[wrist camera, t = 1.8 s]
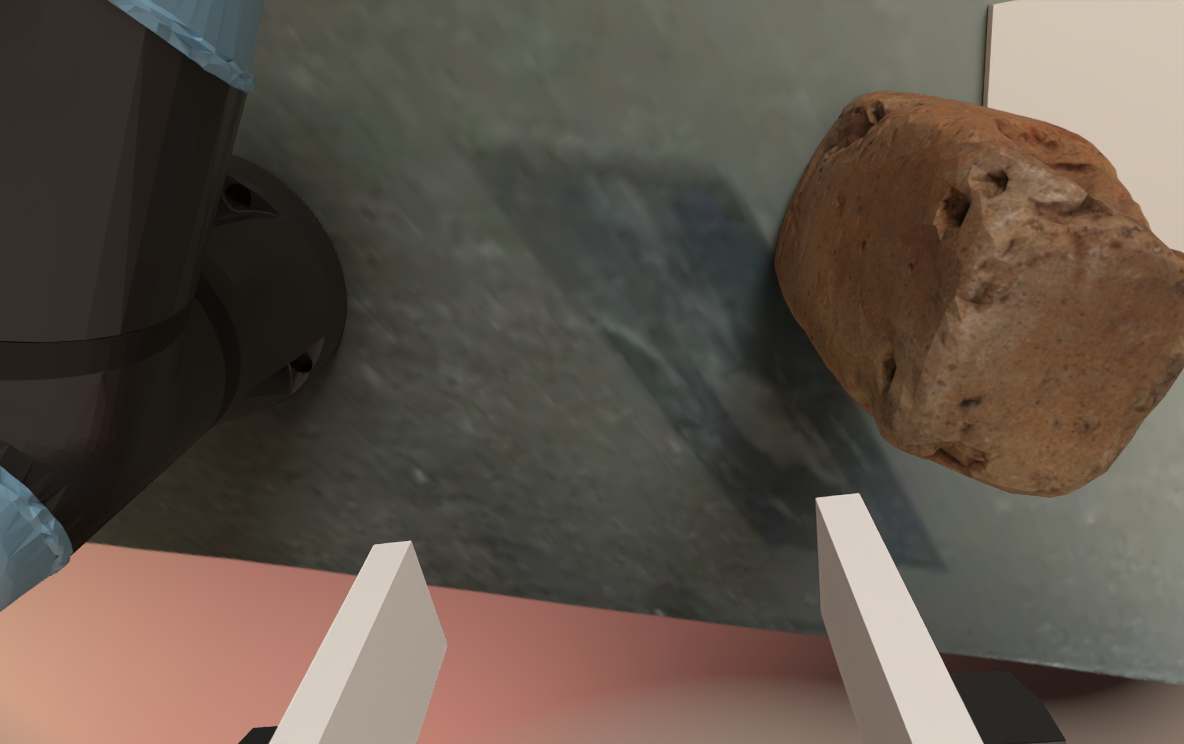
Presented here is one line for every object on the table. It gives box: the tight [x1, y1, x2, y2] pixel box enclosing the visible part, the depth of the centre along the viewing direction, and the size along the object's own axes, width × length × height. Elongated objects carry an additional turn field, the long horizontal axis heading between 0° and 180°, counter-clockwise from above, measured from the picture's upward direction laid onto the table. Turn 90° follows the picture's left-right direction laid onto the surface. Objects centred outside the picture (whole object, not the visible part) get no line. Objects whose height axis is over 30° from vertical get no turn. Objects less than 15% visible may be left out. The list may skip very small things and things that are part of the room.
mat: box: [983, 0, 1184, 253], centre depth 34 cm, size 16×16×1 cm
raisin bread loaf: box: [774, 91, 1184, 498], centre depth 27 cm, size 11×8×20 cm
